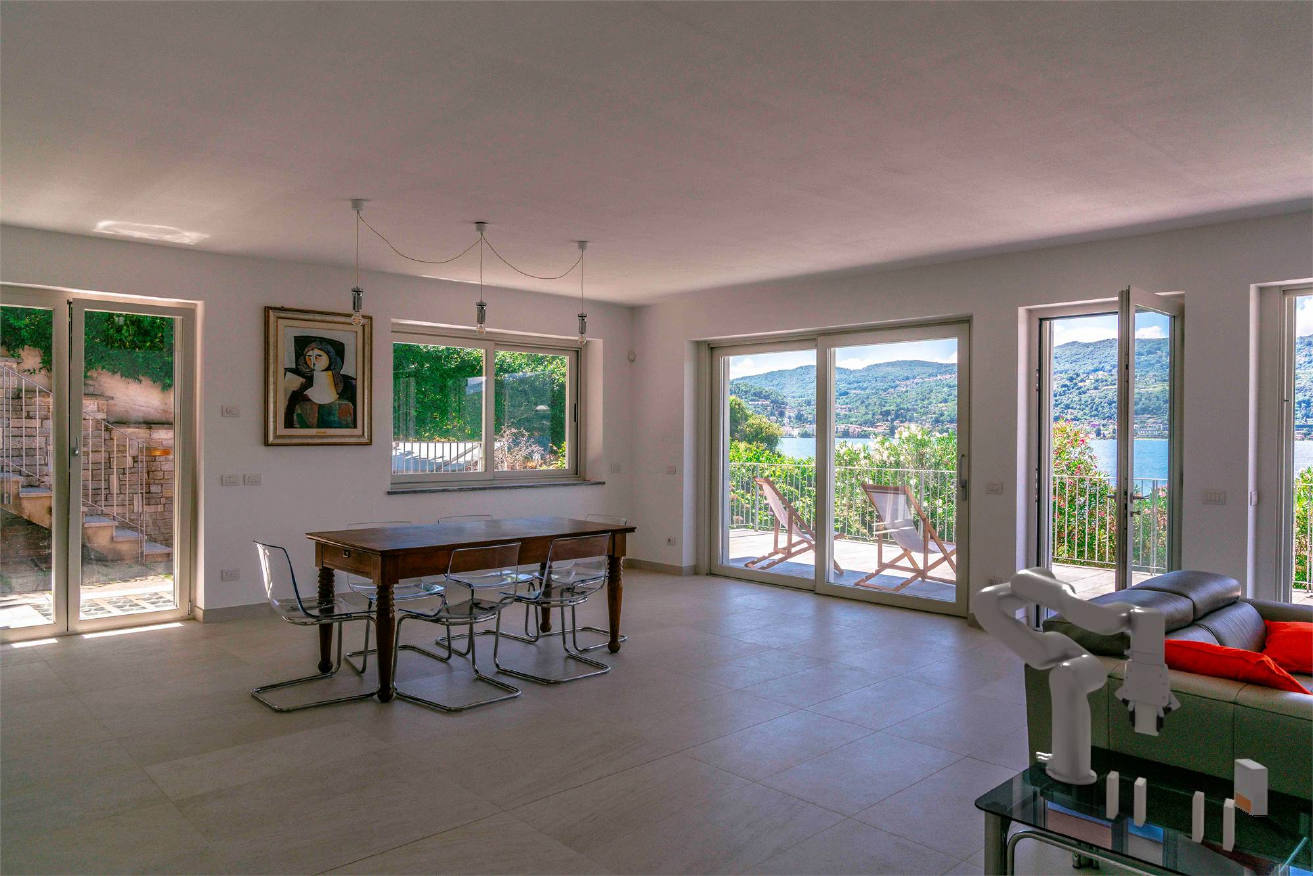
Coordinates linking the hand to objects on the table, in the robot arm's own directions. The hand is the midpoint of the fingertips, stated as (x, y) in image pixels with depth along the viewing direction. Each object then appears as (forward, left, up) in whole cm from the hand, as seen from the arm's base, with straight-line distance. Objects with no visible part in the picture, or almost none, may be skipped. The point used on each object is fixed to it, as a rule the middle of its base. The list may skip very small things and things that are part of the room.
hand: (1146, 727), depth 215 cm
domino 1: (-5, -13, -19) cm, 24 cm away
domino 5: (+19, -13, -19) cm, 30 cm away
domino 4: (+13, -13, -19) cm, 27 cm away
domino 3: (0, 0, -2) cm, 2 cm away
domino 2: (+1, -13, -19) cm, 23 cm away
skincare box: (+21, +11, -20) cm, 31 cm away
